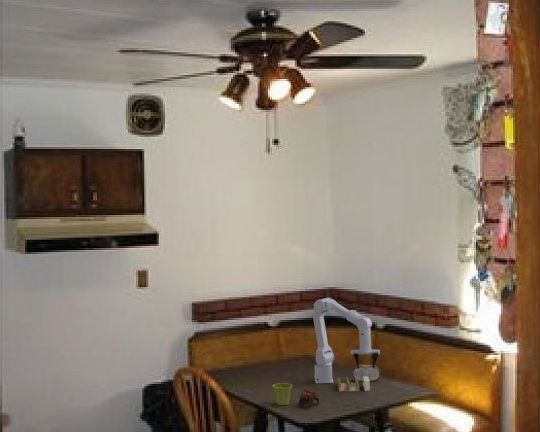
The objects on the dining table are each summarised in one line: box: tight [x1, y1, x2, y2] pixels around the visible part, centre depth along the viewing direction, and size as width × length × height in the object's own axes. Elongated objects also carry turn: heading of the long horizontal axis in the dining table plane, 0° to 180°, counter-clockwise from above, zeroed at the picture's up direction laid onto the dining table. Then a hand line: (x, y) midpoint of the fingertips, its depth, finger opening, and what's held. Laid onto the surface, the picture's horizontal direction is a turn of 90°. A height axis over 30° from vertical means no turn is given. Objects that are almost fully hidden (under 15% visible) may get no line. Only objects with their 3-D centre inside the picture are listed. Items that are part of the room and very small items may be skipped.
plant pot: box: [272, 382, 293, 406], centre depth 307 cm, size 9×9×9 cm
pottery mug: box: [297, 389, 320, 409], centre depth 303 cm, size 12×10×8 cm
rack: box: [337, 376, 360, 392], centre depth 331 cm, size 10×12×4 cm
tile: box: [362, 376, 371, 392], centre depth 330 cm, size 2×9×5 cm, turn 178°
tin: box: [351, 364, 381, 382], centre depth 344 cm, size 15×3×8 cm, turn 84°
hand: (365, 368), depth 330 cm, fingers open, 7 cm apart
